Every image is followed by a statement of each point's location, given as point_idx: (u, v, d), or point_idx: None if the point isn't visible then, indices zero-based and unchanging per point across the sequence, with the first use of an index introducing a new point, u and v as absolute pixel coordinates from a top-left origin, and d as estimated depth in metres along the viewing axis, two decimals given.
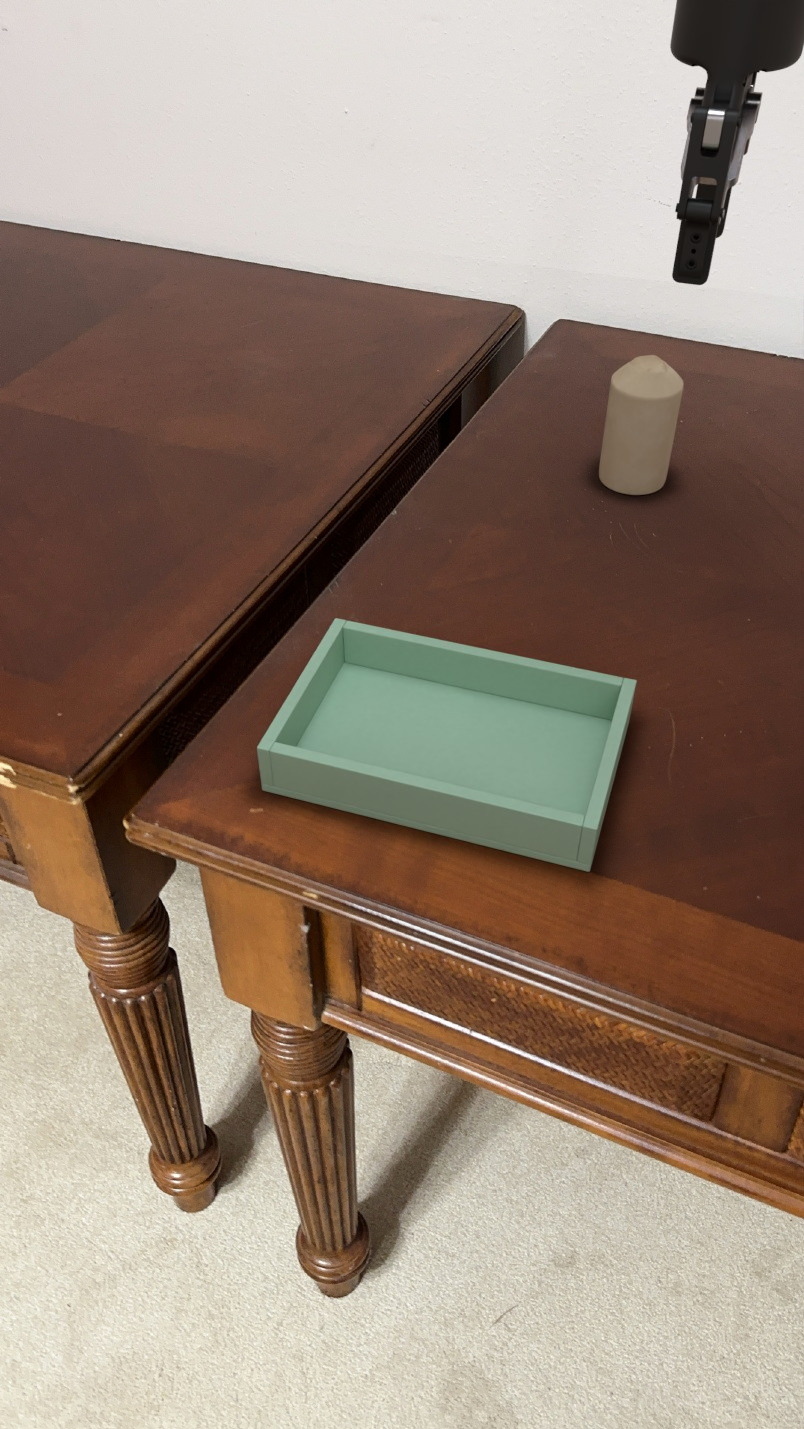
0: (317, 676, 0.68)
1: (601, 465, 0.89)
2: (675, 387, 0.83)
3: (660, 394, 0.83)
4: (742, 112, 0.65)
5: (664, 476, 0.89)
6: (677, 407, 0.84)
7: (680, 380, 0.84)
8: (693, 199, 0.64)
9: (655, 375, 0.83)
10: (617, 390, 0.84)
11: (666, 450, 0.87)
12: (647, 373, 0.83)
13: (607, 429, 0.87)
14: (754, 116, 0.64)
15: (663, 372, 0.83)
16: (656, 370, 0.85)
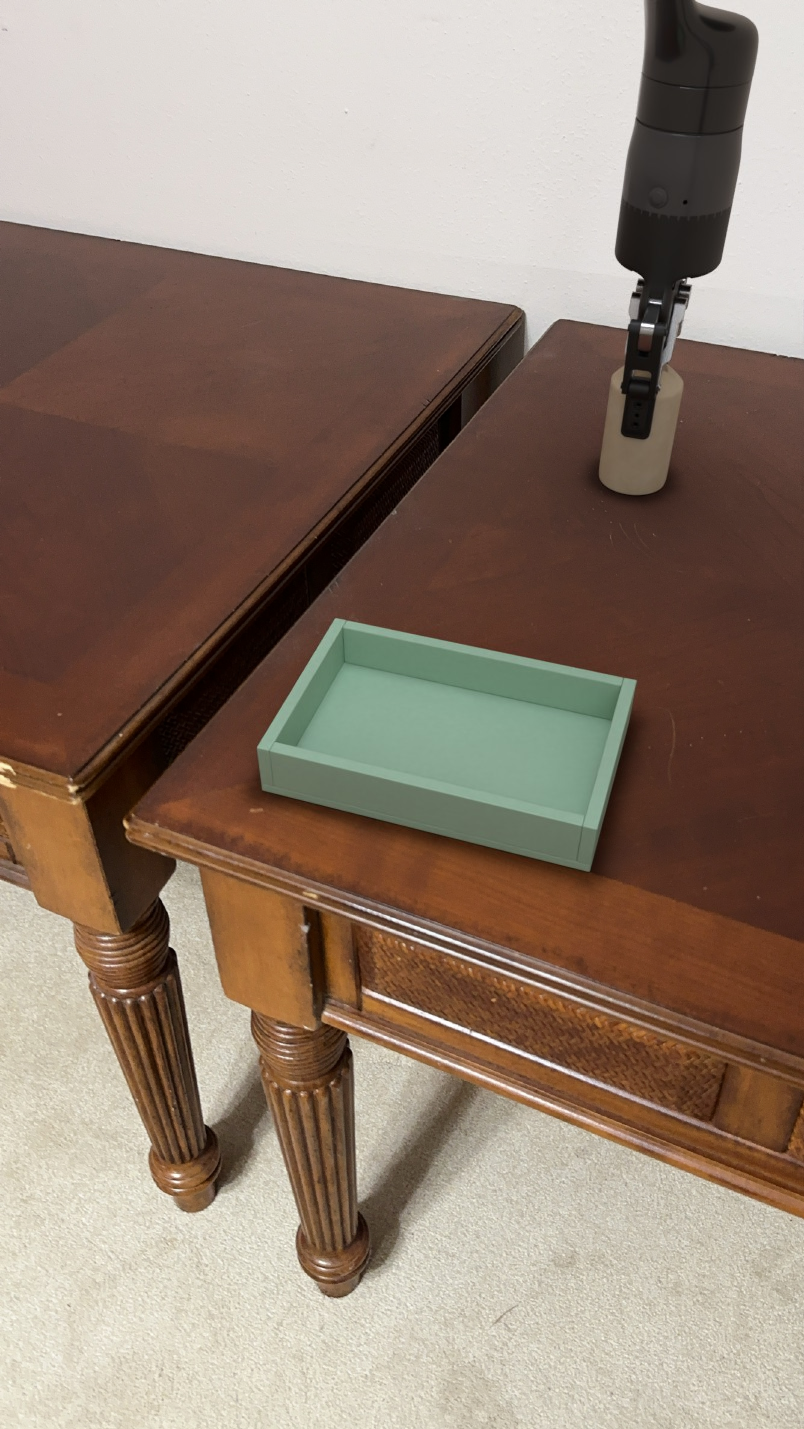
0: (317, 676, 0.68)
1: (601, 465, 0.89)
2: (675, 387, 0.83)
3: (660, 394, 0.83)
4: (673, 305, 0.79)
5: (664, 476, 0.89)
6: (677, 407, 0.84)
7: (680, 380, 0.84)
8: (634, 380, 0.79)
9: None
10: (617, 390, 0.84)
11: (666, 450, 0.87)
12: (647, 373, 0.83)
13: (607, 429, 0.87)
14: (683, 311, 0.79)
15: (663, 372, 0.83)
16: None
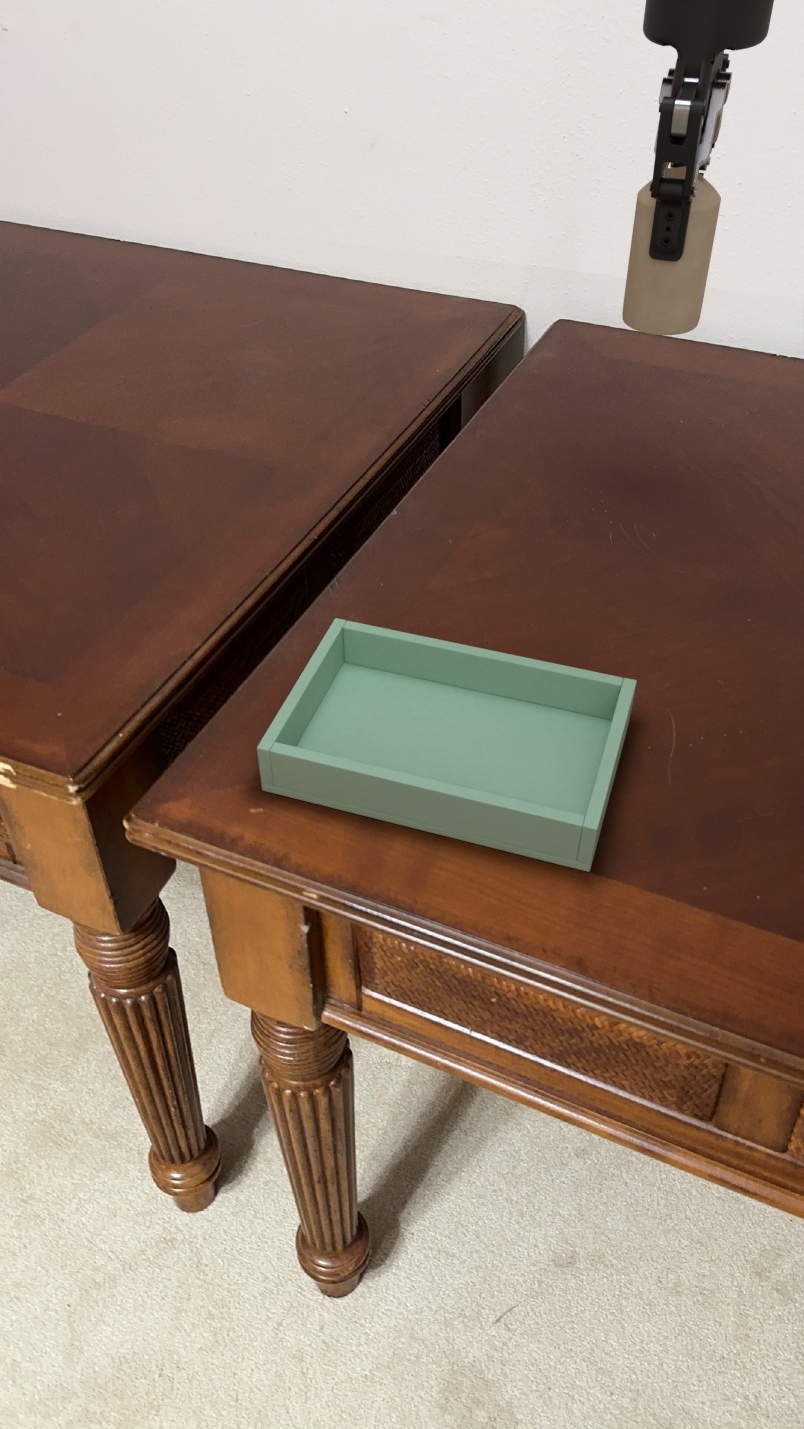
0: (317, 676, 0.68)
1: (625, 303, 0.78)
2: (712, 199, 0.72)
3: (694, 205, 0.72)
4: (711, 90, 0.68)
5: (697, 314, 0.78)
6: (713, 225, 0.73)
7: (717, 193, 0.73)
8: (666, 178, 0.68)
9: None
10: (644, 204, 0.73)
11: (700, 280, 0.76)
12: None
13: (632, 257, 0.76)
14: (722, 96, 0.68)
15: (698, 181, 0.72)
16: None
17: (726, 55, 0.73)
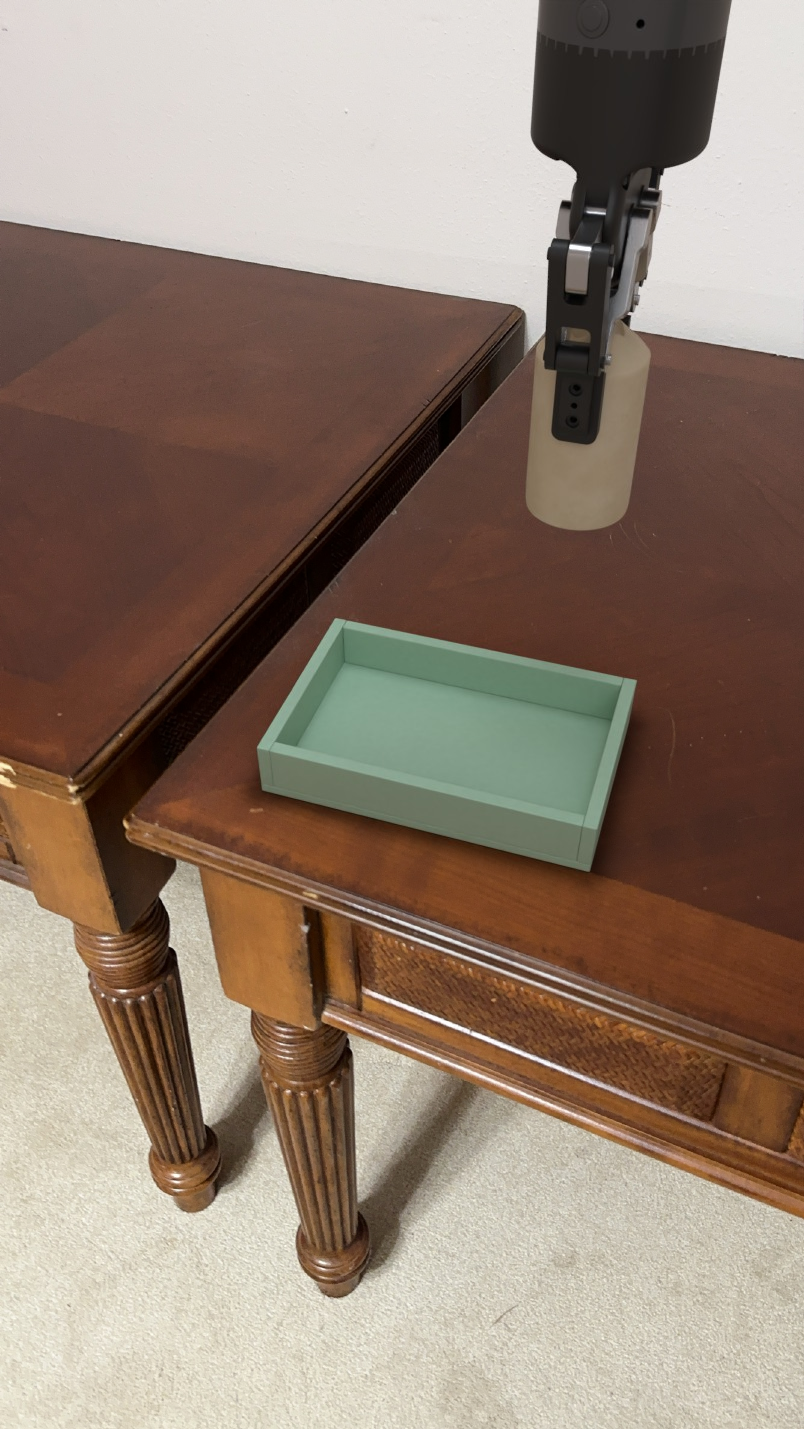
0: (317, 676, 0.68)
1: (527, 484, 0.58)
2: (637, 360, 0.52)
3: (611, 371, 0.51)
4: (629, 221, 0.47)
5: (624, 501, 0.57)
6: (640, 392, 0.53)
7: (645, 349, 0.53)
8: (565, 345, 0.48)
9: None
10: None
11: (625, 462, 0.55)
12: (590, 337, 0.51)
13: (532, 428, 0.55)
14: (645, 230, 0.47)
15: (616, 336, 0.52)
16: None
17: None
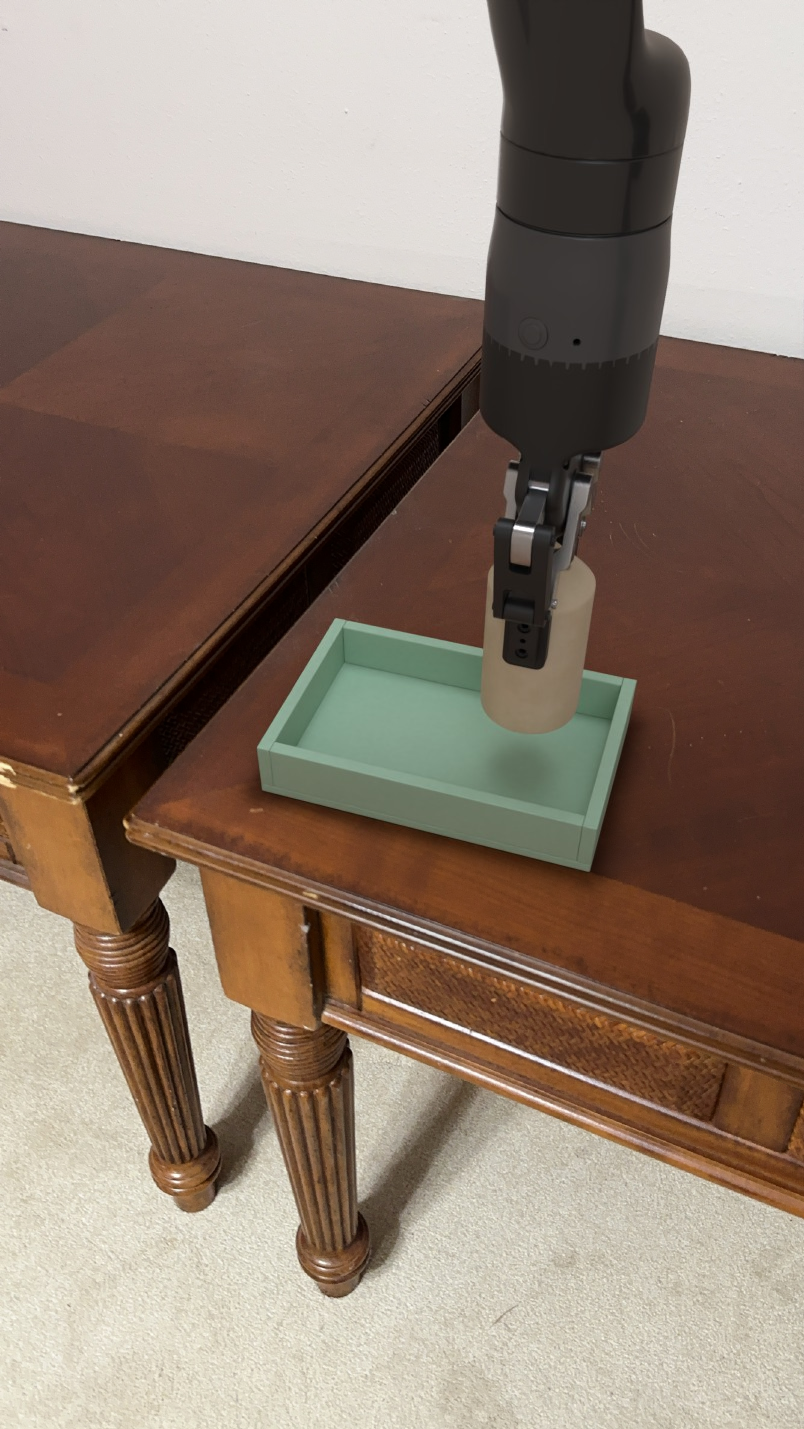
0: (317, 676, 0.68)
1: (482, 688, 0.61)
2: (582, 594, 0.55)
3: (557, 606, 0.54)
4: (572, 486, 0.50)
5: (573, 706, 0.60)
6: (586, 620, 0.56)
7: (590, 580, 0.56)
8: (512, 599, 0.51)
9: None
10: None
11: (572, 677, 0.58)
12: None
13: (485, 643, 0.59)
14: (586, 496, 0.50)
15: (562, 572, 0.55)
16: None
17: None
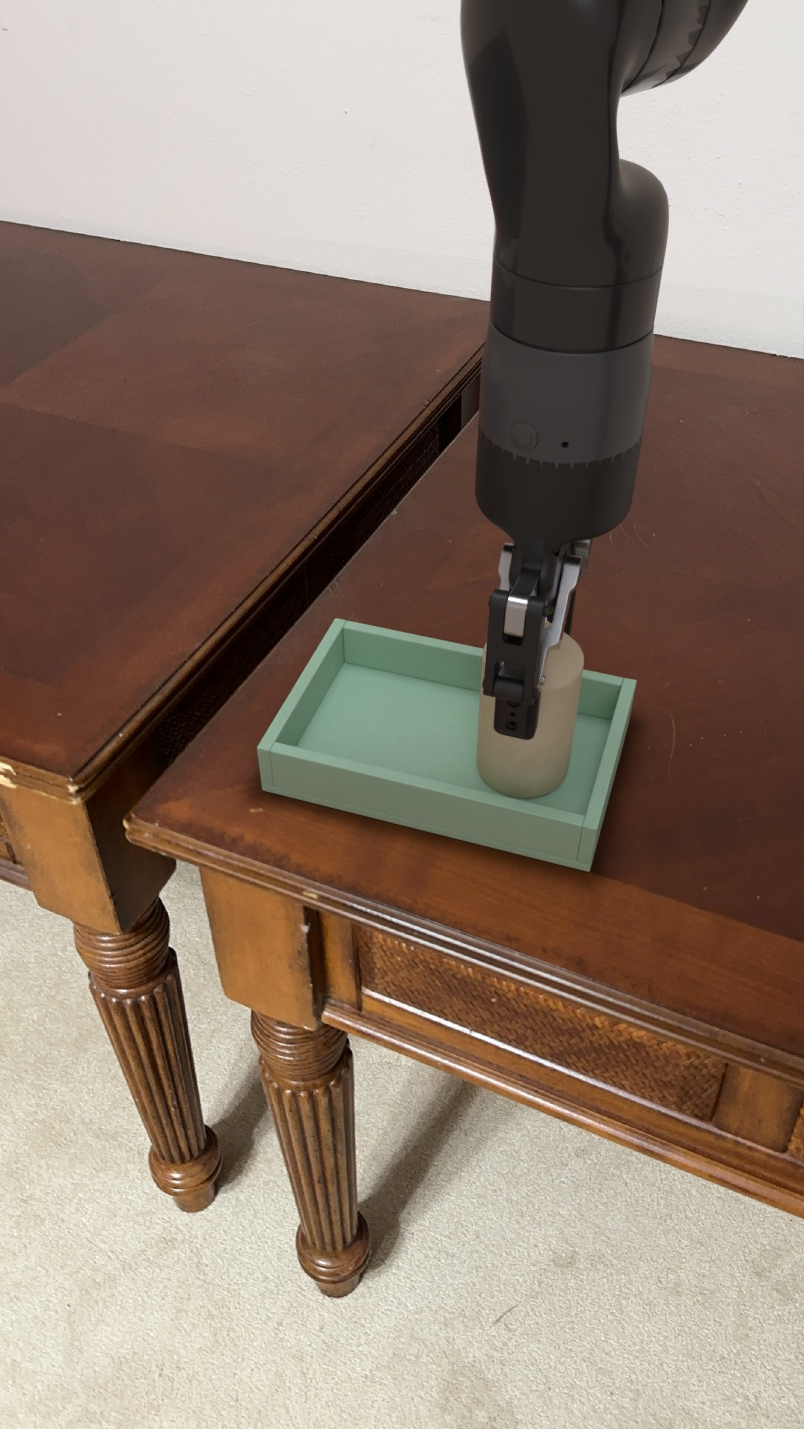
0: (317, 676, 0.68)
1: (477, 753, 0.64)
2: (571, 671, 0.58)
3: (547, 684, 0.58)
4: (562, 569, 0.53)
5: (564, 771, 0.64)
6: (574, 694, 0.60)
7: (579, 657, 0.59)
8: (501, 679, 0.53)
9: None
10: None
11: (563, 745, 0.62)
12: None
13: (481, 714, 0.62)
14: (576, 574, 0.53)
15: (552, 652, 0.58)
16: None
17: None
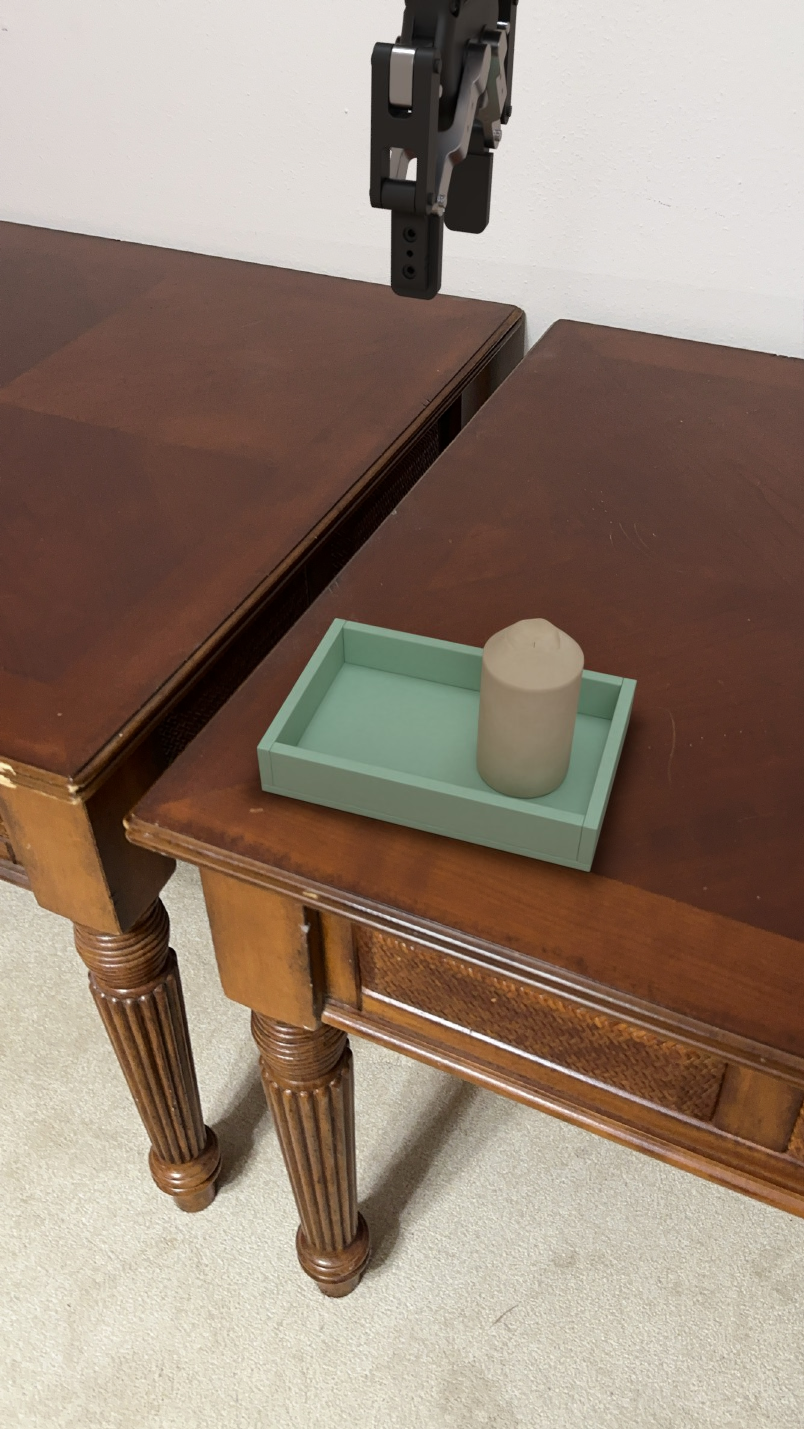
0: (317, 676, 0.68)
1: (477, 753, 0.64)
2: (571, 671, 0.58)
3: (547, 684, 0.58)
4: (465, 56, 0.45)
5: (564, 771, 0.64)
6: (575, 694, 0.60)
7: (579, 657, 0.59)
8: (391, 180, 0.45)
9: (540, 658, 0.58)
10: (489, 673, 0.59)
11: (563, 745, 0.62)
12: (529, 654, 0.58)
13: (481, 714, 0.62)
14: (481, 62, 0.45)
15: (552, 652, 0.58)
16: (546, 641, 0.60)
17: None
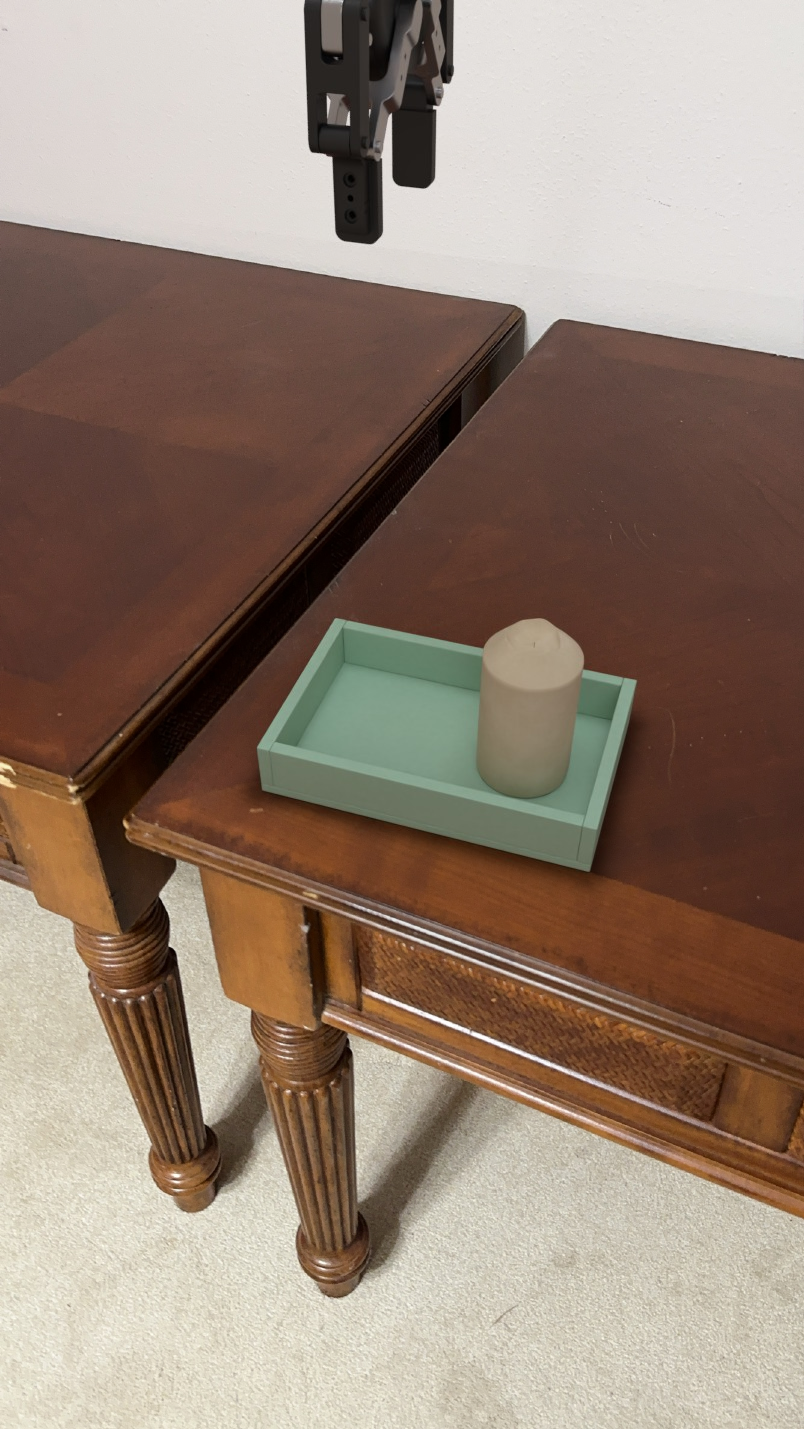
0: (317, 676, 0.68)
1: (477, 753, 0.64)
2: (571, 671, 0.58)
3: (547, 684, 0.58)
4: (397, 9, 0.48)
5: (564, 771, 0.64)
6: (575, 694, 0.60)
7: (579, 657, 0.59)
8: (327, 125, 0.48)
9: (540, 658, 0.58)
10: (489, 673, 0.59)
11: (563, 745, 0.62)
12: (529, 654, 0.58)
13: (481, 714, 0.62)
14: (412, 14, 0.48)
15: (552, 652, 0.58)
16: (546, 641, 0.60)
17: None
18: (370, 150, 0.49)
